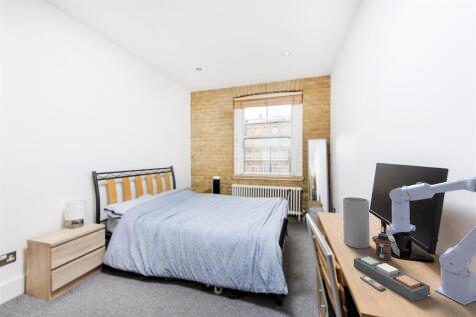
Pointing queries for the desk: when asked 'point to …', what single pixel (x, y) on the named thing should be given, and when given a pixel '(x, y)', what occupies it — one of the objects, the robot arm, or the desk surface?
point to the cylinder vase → (356, 222)
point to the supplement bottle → (383, 247)
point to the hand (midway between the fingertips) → (401, 249)
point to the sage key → (369, 261)
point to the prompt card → (372, 283)
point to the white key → (387, 269)
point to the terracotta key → (408, 282)
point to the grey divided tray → (393, 280)
